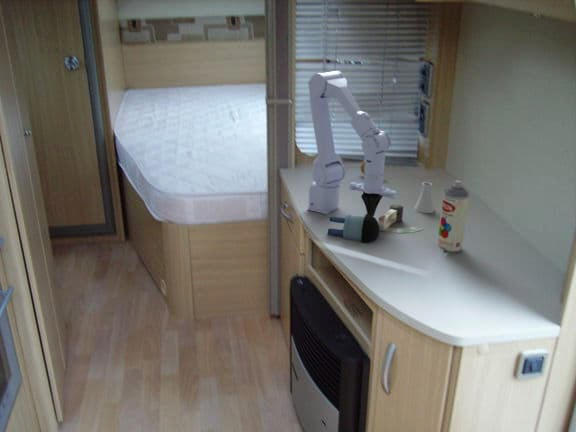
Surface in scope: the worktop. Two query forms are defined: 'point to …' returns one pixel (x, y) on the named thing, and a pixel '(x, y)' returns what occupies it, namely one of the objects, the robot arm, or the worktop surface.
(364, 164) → the potato
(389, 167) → the worktop surface
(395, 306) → the worktop surface
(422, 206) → the flask
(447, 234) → the aerosol can
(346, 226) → the toy
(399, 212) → the peg
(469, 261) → the worktop surface
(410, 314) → the worktop surface
